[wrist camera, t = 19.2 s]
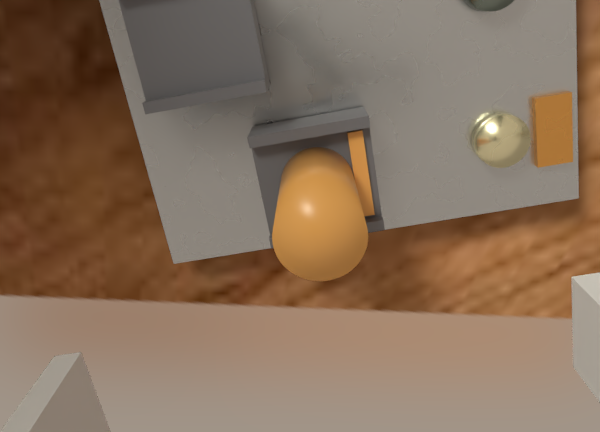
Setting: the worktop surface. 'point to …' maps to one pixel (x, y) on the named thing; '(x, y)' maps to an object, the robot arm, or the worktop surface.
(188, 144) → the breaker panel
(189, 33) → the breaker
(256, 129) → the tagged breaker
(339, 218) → the cap
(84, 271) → the worktop surface
